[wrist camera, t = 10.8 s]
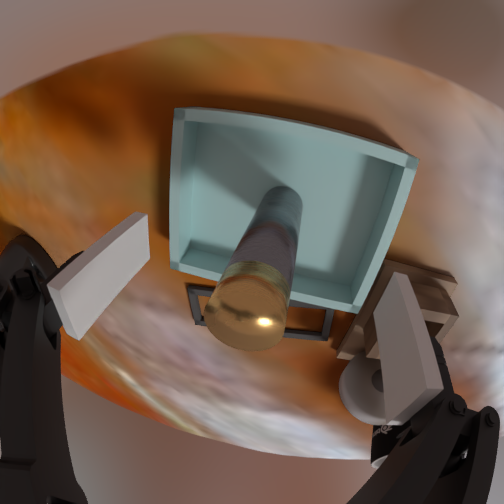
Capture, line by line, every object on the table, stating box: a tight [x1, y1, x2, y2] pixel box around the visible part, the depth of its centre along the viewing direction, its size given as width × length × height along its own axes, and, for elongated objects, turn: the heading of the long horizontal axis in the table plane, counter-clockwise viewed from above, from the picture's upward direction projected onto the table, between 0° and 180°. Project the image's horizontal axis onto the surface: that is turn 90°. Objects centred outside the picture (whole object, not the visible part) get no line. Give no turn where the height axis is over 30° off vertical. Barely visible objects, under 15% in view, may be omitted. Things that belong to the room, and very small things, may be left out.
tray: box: [169, 107, 419, 314], centre depth 19 cm, size 16×13×3 cm
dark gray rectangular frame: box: [187, 285, 335, 341], centre depth 26 cm, size 14×5×1 cm, turn 92°
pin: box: [204, 186, 303, 351], centre depth 15 cm, size 3×3×12 cm
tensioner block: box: [337, 259, 459, 425], centre depth 20 cm, size 8×12×9 cm, turn 172°
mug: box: [371, 419, 411, 469], centre depth 26 cm, size 12×9×10 cm
